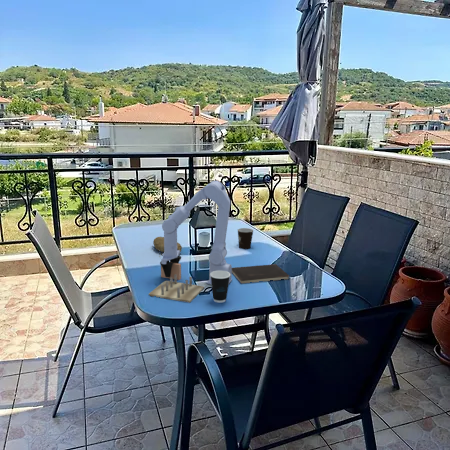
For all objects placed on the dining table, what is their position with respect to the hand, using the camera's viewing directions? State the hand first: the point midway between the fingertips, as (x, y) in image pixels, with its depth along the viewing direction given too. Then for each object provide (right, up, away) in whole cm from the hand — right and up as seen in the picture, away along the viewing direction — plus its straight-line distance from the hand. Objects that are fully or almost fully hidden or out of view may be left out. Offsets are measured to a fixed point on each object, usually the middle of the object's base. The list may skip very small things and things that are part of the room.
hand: (171, 274), depth 183 cm
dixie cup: (+22, -8, -21) cm, 31 cm away
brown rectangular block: (0, -2, 0) cm, 2 cm away
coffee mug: (+35, +10, +47) cm, 60 cm away
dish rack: (+4, -5, -14) cm, 16 cm away
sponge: (-7, +8, +37) cm, 38 cm away
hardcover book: (+40, -2, +6) cm, 40 cm away
